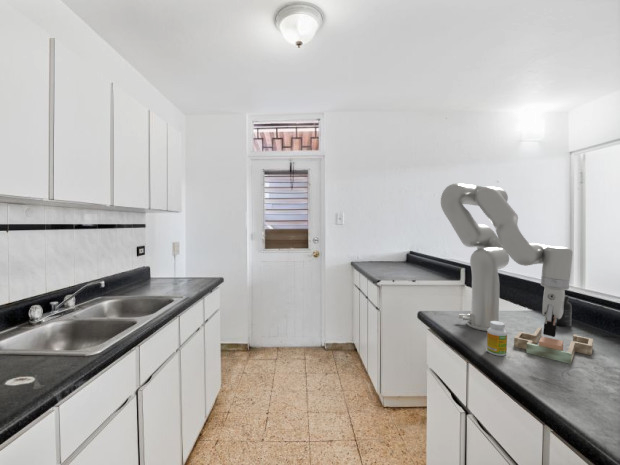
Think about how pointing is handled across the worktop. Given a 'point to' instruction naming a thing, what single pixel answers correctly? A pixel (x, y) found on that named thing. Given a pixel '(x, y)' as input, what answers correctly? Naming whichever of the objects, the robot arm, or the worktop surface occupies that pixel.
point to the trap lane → (531, 340)
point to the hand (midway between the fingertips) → (549, 334)
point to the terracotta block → (551, 343)
